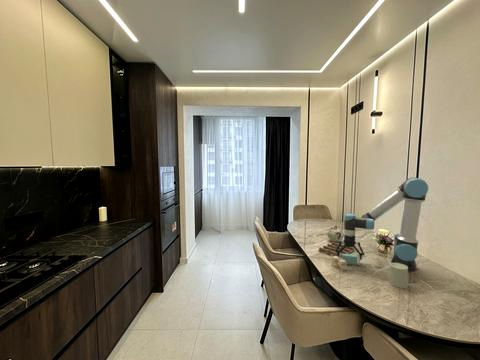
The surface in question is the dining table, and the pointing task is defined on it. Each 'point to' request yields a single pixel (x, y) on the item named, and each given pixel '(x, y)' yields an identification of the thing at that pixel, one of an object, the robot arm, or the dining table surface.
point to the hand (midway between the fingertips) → (349, 262)
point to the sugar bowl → (335, 234)
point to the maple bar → (339, 263)
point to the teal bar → (350, 258)
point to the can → (398, 275)
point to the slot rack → (332, 247)
